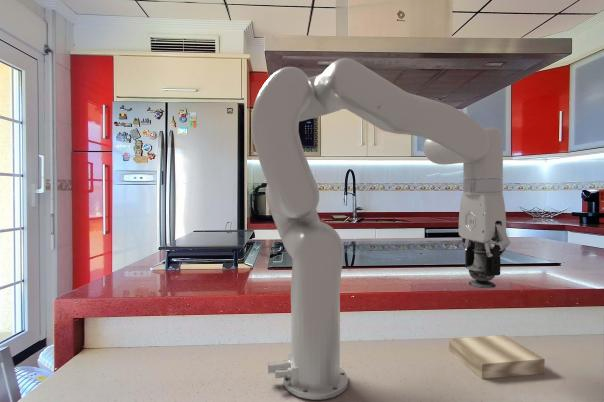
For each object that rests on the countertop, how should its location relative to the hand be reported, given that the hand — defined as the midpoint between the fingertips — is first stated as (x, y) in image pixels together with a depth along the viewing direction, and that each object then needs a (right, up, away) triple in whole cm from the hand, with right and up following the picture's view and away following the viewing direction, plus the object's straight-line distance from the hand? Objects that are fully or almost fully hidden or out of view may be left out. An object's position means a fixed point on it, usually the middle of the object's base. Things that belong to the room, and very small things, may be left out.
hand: (482, 270), depth 79 cm
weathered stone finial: (0, -3, 0) cm, 3 cm away
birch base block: (+3, -20, +1) cm, 20 cm away
